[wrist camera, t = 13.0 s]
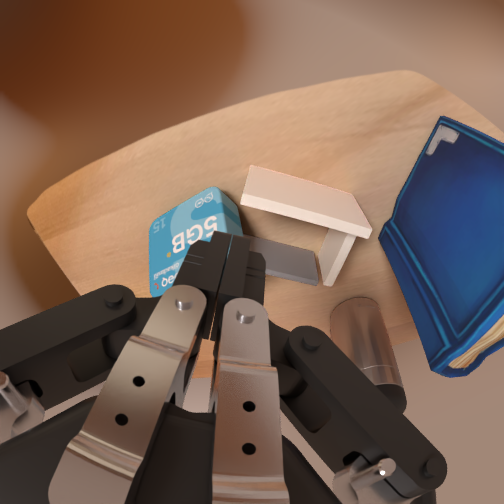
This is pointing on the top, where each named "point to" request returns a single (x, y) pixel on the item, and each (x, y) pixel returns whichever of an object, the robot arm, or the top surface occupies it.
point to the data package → (187, 233)
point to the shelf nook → (307, 209)
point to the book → (452, 246)
